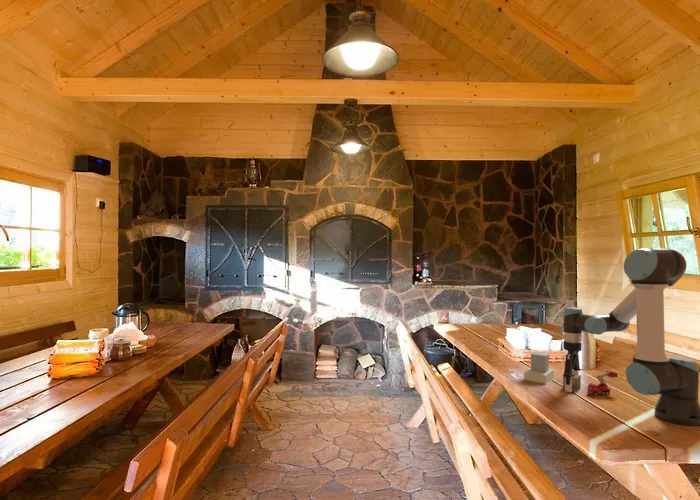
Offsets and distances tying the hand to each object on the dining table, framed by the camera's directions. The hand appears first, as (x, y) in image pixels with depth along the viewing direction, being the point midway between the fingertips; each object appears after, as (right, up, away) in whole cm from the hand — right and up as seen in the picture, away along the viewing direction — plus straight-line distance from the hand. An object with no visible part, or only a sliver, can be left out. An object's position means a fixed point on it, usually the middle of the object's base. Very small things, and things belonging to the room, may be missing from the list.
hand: (571, 387), depth 205 cm
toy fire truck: (+10, -1, -7) cm, 12 cm away
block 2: (0, 0, 0) cm, 0 cm away
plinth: (-9, 0, +15) cm, 17 cm away
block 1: (-9, +4, +14) cm, 17 cm away
